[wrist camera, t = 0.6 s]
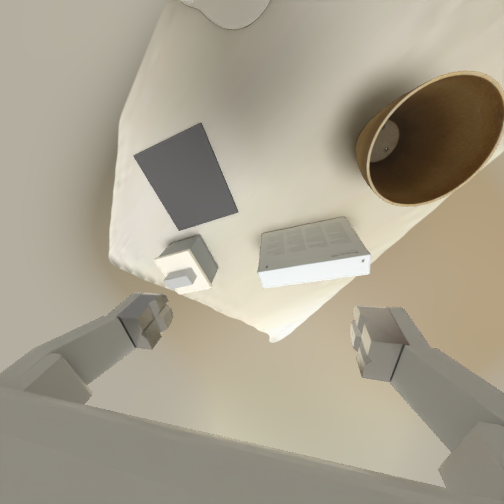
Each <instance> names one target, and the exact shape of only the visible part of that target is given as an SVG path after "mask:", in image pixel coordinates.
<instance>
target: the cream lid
mask: <svg viewBox="0 0 504 504" xmlns="http://www.w3.org/2000/svg"><path fill="white" fill-rule="evenodd" d="M153 261H154V262H155V263H156V265H157V266H158V267H159V269H160V270H161V271H162V273H163V274H164V275H165V277H166V278H165V279H164V283H165V284H166V285H167V287H168V288H169V289H175V290H176V291H177V293H178V294H185V293H190V292H195V291H200V290H205V289H210V288H211V287H212V285H211V283H210V281H209V280H208V278H207V276H206V275H205V273H204V271H203V270H202V268H201V267H200V265H199V263H198V262H197V260H196V258H195V257H194V255H193V254H192V252H191V250H190V249H186V250H183V251H179V252H175V253H172V254H168V255H165V256H161V257H157V258H155V259H154V260H153Z"/></svg>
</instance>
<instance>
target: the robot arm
mask: <svg viewBox="0 0 504 504" xmlns="http://www.w3.org/2000/svg"><path fill="white" fill-rule="evenodd" d="M180 1H181V2H182V3H183V4H185V5H187V6H190V7H194V8H197V9H199V10H200V11H201V12H202V13H203V14H204V15H205V16H206V17H207V18H208V19H210V20H211V21H212V22H213V23H215V24H216V25H218V26H220V27H223V28H226V29H240V28H243V27H246V26H248V25H249V24H251V23H252V22H254V21H255V20H256V19H257V18H258V17H259V16H260V15H261V14H262V13H263V11H264V10H265V9H266V7H267V5H268V4H269V2H270V0H180ZM167 303H168V299H167V297H166V295H163V294H155V293H140V292H135V293H132V294H131V295H130V296H129V297H128V298H126V299H125V300H124V301H123V302H122V303H121V304H120V305H118V306H117V307H116V308H115V309H114V310H112V311H111V312H110V313H109V314H108V315H107V316H102V317H100V318H98V319H96V320H94V321H92V322H89V323H88V324H85V325H83V326H81V327H79V328H77V329H74V330H72V331H70V332H68V333H66V334H64V335H62V336H59V337H57V338H55V339H53V340H51V341H49V342H46V343H44V344H42V345H40V346H38V347H36V348H34V349H32V350H31V351H29V352H28V353H27V354H25V355H24V356H23V357H21V358H20V359H19V360H17V361H16V362H15V363H14V364H12V365H11V366H9V367H8V368H7V369H6V370H4V371H3V372H2V373H0V504H504V393H503V392H502V391H500V390H499V389H497V388H496V387H494V386H493V385H491V384H490V383H488V382H486V381H485V380H484V379H482V378H481V377H479V376H478V375H476V374H475V373H473V372H471V371H470V370H469V369H467V368H466V367H464V366H463V365H461V364H460V363H458V362H457V361H455V360H454V359H452V358H451V357H449V356H447V355H446V354H445V353H443V352H442V351H440V350H439V349H437V348H431V347H430V345H429V344H428V343H427V341H426V340H425V338H424V337H423V335H422V334H421V332H420V331H419V329H418V328H417V326H416V325H415V324H414V322H413V321H412V319H411V318H410V316H409V315H408V313H407V312H406V311H405V309H403V308H400V307H375V306H355V307H354V310H353V315H354V318H355V320H353V321H352V322H351V327H350V335H351V341H352V345H353V348H354V349H355V350H356V351H357V352H358V355H357V363H358V365H359V369H360V373H361V376H362V378H367V379H373V380H380V381H386V382H391V383H390V384H391V385H392V386H393V387H394V388H395V389H396V391H397V392H398V393H399V394H400V395H401V396H402V397H403V398H404V400H405V401H406V402H407V403H408V404H409V405H410V406H411V407H412V409H413V410H414V411H415V412H416V413H417V414H418V415H419V416H420V417H421V419H422V420H423V421H424V422H425V423H426V424H427V425H428V426H429V428H430V429H431V430H432V431H433V432H434V433H435V434H436V436H438V438H439V439H440V440H441V441H442V442H443V443H444V444H445V446H446V447H447V448H448V449H449V450H450V451H451V452H452V453H451V454H450V455H449V456H448V457H447V459H446V460H445V461H444V462H443V463H442V465H441V466H440V468H439V469H438V470H439V472H440V475H441V477H442V479H443V481H444V484H445V486H446V488H444V487H440V486H435V485H431V484H426V483H422V482H417V481H413V480H409V479H405V478H400V477H396V476H391V475H387V474H383V473H378V472H374V471H370V470H366V469H361V468H357V467H353V466H348V465H344V464H339V463H335V462H331V461H326V460H322V459H318V458H314V457H309V456H305V455H300V454H296V453H291V452H287V451H283V450H279V449H275V448H270V447H266V446H261V445H257V444H253V443H248V442H243V441H240V440H235V439H231V438H226V437H222V436H218V435H214V434H209V433H205V432H201V431H196V430H192V429H187V428H183V427H179V426H174V425H170V424H166V423H162V422H157V421H153V420H149V419H144V418H140V417H135V416H131V415H127V414H123V413H118V412H114V411H110V410H105V409H101V408H97V407H92V406H88V405H84V404H85V403H86V402H87V401H88V400H89V398H90V397H91V396H92V391H91V390H90V389H89V387H88V386H87V385H88V384H89V383H90V382H92V381H93V380H94V379H96V378H97V377H98V376H100V375H101V374H102V373H104V372H105V371H106V370H108V369H109V368H111V367H112V366H113V365H115V364H116V363H117V362H119V361H120V360H121V359H123V358H124V357H125V356H127V355H128V354H129V353H131V352H132V351H133V350H135V348H143V349H153V348H154V346H155V345H156V344H157V342H158V341H159V339H160V338H161V337H162V334H161V333H162V331H164V330H166V329H167V328H168V327H169V325H170V324H171V321H172V318H173V312H172V309H171V308H170V307H169V306H168V305H167Z"/></svg>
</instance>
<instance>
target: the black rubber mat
mask: <svg viewBox="0 0 504 504" xmlns="http://www.w3.org/2000/svg"><path fill="white" fill-rule="evenodd" d="M134 158H135V160H136V161H137V163H138V164H139V166H140V168H141V169H142V171H143V173H144V174H145V176H146V178H147V179H148V181H149V182H150V184H151V186H152V187H153V189H154V191H155V192H156V194H157V196H158V197H159V199H160V200H161V202H162V204H163V205H164V207H165V209H166V210H167V212H168V214H169V215H170V217H171V218H172V220H173V222H174V223H175V225H176V227H177V228H178V230H179V231H180V230H183V229H187V228H190V227H193V226H196V225H199V224H203V223H206V222H209V221H212V220H215V219H219V218H222V217H225V216H228V215H231V214H234V213H238V210H237V207H236V205H235V203H234V200H233V198H232V195H231V193H230V191H229V188H228V186H227V183H226V181H225V179H224V176H223V174H222V171H221V169H220V167H219V164H218V162H217V159H216V157H215V155H214V152H213V150H212V147H211V145H210V143H209V140H208V138H207V135H206V133H205V131H204V128H203V126H202V123H199V124H197V125H195V126H193V127H191V128H189V129H187V130H185V131H183V132H181V133H179V134H177V135H175V136H173V137H171V138H169V139H167V140H165V141H163V142H161V143H158V144H156V145H154V146H152V147H150V148H148V149H146V150H144V151H142V152H140V153H138V154H136V155H134Z"/></svg>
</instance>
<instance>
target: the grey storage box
mask: <svg viewBox="0 0 504 504" xmlns="http://www.w3.org/2000/svg"><path fill="white" fill-rule="evenodd" d="M186 249H190V250H191V252H192V254H193V255H194V257H195V258H196V260H197V262H198V263H199V265H200V267H201V268H202V270H203V271H204V273H205V275H206V276H207V278H208V280H209V281H210V283H212V281H213V279H214V276H215V274H216V272H217V269H218V266H217V264H216V262H215V260H214V259H213V257H212V255H211V253H210V251H209V250H208V248H207V246H206V244H205V242H204V241H203V239H202V237H201V235H197V236H194V237H190V238H187V239H184V240H180V241H177V242H174V243H171V244H170V245H169V246H168V247H167V248H166V249H165V251H164V252H163V253H162V254H161V255H160V256H159V257H161V256H165V255H168V254H172V253H175V252H179V251H183V250H186Z"/></svg>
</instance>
